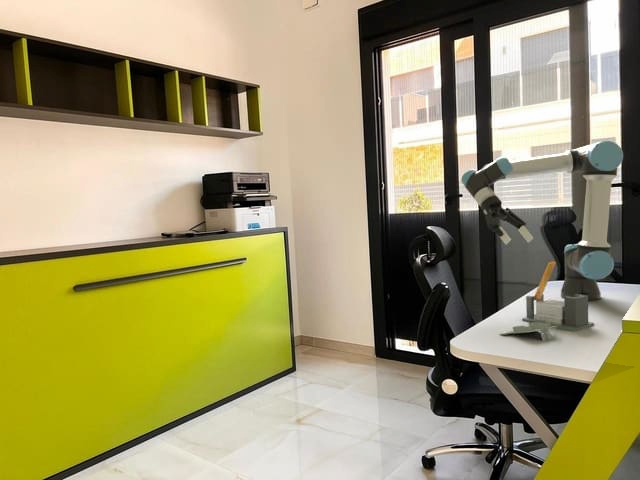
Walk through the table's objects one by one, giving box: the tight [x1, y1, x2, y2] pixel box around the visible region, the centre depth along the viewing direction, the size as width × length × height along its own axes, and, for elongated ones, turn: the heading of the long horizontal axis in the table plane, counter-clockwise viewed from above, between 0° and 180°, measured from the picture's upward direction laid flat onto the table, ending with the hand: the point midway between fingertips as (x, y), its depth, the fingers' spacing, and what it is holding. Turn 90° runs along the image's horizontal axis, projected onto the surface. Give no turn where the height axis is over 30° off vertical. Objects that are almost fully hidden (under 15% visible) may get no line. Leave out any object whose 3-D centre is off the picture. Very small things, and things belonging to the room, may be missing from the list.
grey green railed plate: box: [521, 314, 595, 332], centre depth 169 cm, size 19×12×1 cm, turn 29°
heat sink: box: [525, 293, 565, 325], centre depth 171 cm, size 14×9×8 cm, turn 29°
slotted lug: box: [563, 294, 589, 327], centre depth 163 cm, size 4×7×10 cm, turn 119°
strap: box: [534, 261, 557, 301], centre depth 172 cm, size 16×3×1 cm
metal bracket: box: [499, 321, 557, 342], centre depth 156 cm, size 14×6×15 cm
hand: (519, 241), depth 181 cm, fingers open, 13 cm apart
